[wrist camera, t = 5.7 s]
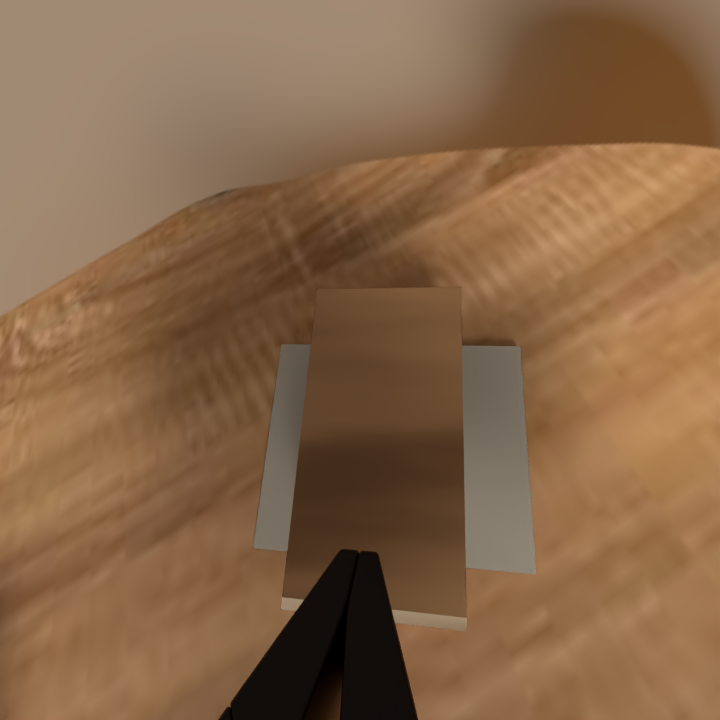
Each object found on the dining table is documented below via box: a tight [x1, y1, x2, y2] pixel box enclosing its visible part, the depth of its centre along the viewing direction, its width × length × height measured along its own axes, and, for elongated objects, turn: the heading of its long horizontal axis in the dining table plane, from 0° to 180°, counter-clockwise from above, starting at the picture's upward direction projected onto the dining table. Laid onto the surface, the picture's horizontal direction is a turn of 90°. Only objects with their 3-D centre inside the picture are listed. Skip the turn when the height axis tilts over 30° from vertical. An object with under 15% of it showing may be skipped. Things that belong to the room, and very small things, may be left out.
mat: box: [253, 344, 536, 574], centre depth 17 cm, size 9×11×1 cm
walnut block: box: [281, 287, 467, 631], centre depth 15 cm, size 5×5×10 cm
